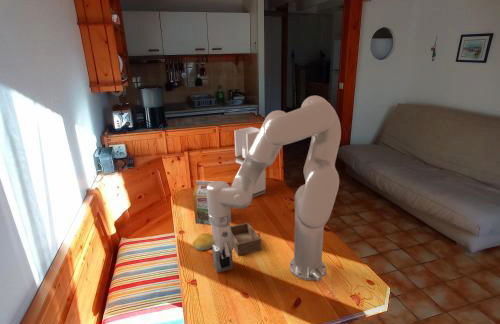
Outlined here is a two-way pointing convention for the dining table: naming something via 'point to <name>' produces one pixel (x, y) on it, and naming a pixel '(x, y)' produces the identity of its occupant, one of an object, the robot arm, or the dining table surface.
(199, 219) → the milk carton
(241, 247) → the open box
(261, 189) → the light grey boxy piece
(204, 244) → the bread roll
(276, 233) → the dining table surface
